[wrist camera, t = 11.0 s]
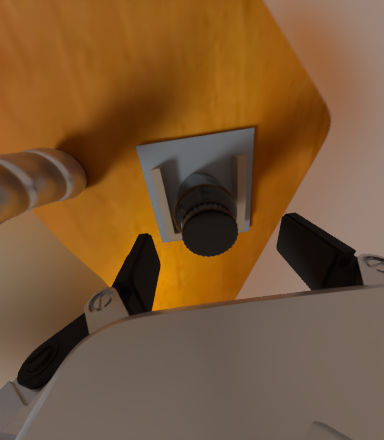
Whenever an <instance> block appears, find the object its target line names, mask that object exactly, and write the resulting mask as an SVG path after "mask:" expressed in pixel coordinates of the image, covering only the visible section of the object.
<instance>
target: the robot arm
mask: <svg viewBox="0 0 384 440" xmlns="http://www.w3.org/2000/svg"><path fill="white" fill-rule="evenodd" d="M277 250H278V252H279V253H280V254H281V255H282V256H283V258H284V259H285V260H286V261H287V262H288V263H289V265H290V266H291V267H292V268H293V269H294V271H295V272H296V273H297V274H298V275H299V276H300V277H301V279H302V280H303V281H304V282H305V283H306V285H307V286H308V287H309V288H310V289H311V290H312V291H304V292H296V293H288V294H279V295H272V296H263V297H256V298H247V299H239V300H231V301H223V302H215V303H208V304H200V305H192V306H185V307H177V308H170V309H164V310H157V311H152V307H153V301H154V296H155V291H156V286H157V281H158V276H159V271H160V260H159V257H158V254H157V251H156V248H155V245H154V242H153V239H152V236H151V235H149V234H148V233H145V234H139V235H138V237H137V239H136V241H135V243H134V245H133V247H132V249H131V251H130V253H129V255H128V256H127V257H126V259H125V261H124V263H123V265H122V267H121V269H120V271H119V273H118V275H117V277H116V279H115V281H114V283H113V285H112V287H107V288H103V289H101V290H100V291H98V292H96V293H95V294H94V295H93V296H92V297H91V298H90V299H89V300H88V302H87V303H86V306H85V313H84V314H82V315H81V316H80V317H78V318H77V319H75V320H74V321H73V322H71V323H70V324H69V325H67V326H66V327H64V328H63V329H62V330H60V331H59V332H58V333H56V334H55V335H54V336H52V337H51V338H50V339H48V340H47V341H46V342H44V343H43V344H42V345H40V346H39V347H38V348H37V349H35V350H34V351H33V352H32V353H31V355H30V356H29V357H28V358H27V359H26V360H25V362H24V363H23V364H22V367H21V368H20V370H19V372H18V377H17V378H16V379H15V381H13V382H10V381H9V382H7V383H6V385H4V386H3V387H2V388H1V389H0V440H384V257H382V256H378V255H373V254H361V255H359V256H358V257H355V256H354V253H355V252H356V251H355V250H354V249H353V248H351V247H349V246H348V245H346V244H345V243H343V242H341V241H340V240H338V239H337V238H335V237H333V236H332V235H330V234H329V233H327V232H326V231H324V230H322V229H321V228H319V227H317V226H316V225H314V224H313V223H311V222H310V221H308V220H306V219H305V218H303V217H302V216H300V215H298V214H297V213H289V214H285V215H284V216H283V217H282V220H281V225H280V231H279V236H278V241H277Z"/></svg>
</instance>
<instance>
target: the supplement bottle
mask: <svg viewBox="0 0 384 440" xmlns="http://www.w3.org/2000/svg"><path fill="white" fill-rule="evenodd" d="M236 219H237V205H236V202H235V200H234V198H233V197H232V195H231V194H230V193H229V192H228V190H227V189H226V188H225V187H224V186H223V185H222V184H221V183H220V182H219V181H218V180H217V179H216V178H215V177H214V176H212V175H210V174H208V173H204V172H198V173H194V174H191V175H189V176H188V177H186V178H185V179H184V180H183V182H182V183H181V185H180V187H179V190H178V194H177V198H176V202H175V207H174V222H175V225H176V227H177V229H178V230H179V232H180V233H181V234H182V240H183V241H184V244H185V245H186V247H187V248H188V249H189V250H190V251H192V252H193V253H194V254H197V255H201V256H207V257H210V256H215V255H220V254H222V253H224V252H225V251H228V249H229V248H231V247H232V245H233V244H234V243H235V241H236V240H237V236H238V227H237V226H238V224H237V222H236Z"/></svg>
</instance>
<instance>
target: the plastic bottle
mask: <svg viewBox="0 0 384 440" xmlns="http://www.w3.org/2000/svg"><path fill="white" fill-rule="evenodd" d="M86 183H87V179H86V174H85V171H84V169H83V167H82V166H81V165H80V164H79V163H78V161H77V160H76V159H74V158H73V157H72V156H71V155H69V154H67V153H65V152H63V151H60V150H56V149H50V148H35V149H30V150H25V151H22V152H18V153H10V154H2V155H0V224H2V223H4V222H6V221H7V220H9V219H12V218H14V217H16V216H18V215H20V214H22V213H24V212H26V211H29V210H31V209H33V208H37V207H40V206H43V205H46V204H50V203H53V202H58V201H63V200H68V199H71V198H74V197H76V196H77V195H79V194H80V193H81V192H82V191H83V190H84V189H85V187H86Z"/></svg>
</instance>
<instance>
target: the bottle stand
mask: <svg viewBox="0 0 384 440" xmlns="http://www.w3.org/2000/svg"><path fill="white" fill-rule="evenodd" d="M254 129H255V128H249V129H242V130H236V131H230V132H223V133H217V134H211V135H204V136H198V137H191V138H185V139H179V140H172V141H166V142H159V143H153V144H147V145H140V146H136V150H137V153H138V157H139V160H140V164H141V167H142V171H143V174H144V178H145V182H146V185H147V189H148V192H149V196H150V199H151V203H152V206H153V210H154V213H155V217H156V221H157V224H158V228H159V231H160V235H161V238H162V242H171V241H178V240H182V234H181V233H180V232H179V230H178V229H177V227H176V225H175V222H174V207H175V202H176V198H177V194H178V190H179V187H180V185H181V183H182V182H183V180H184V179H185V178H186V177H188V176H189V175H191V174H194V173H198V172H204V173H208V174H210V175H212V176H214V177H215V178H216V179H217V180H218V181H219V182H220V183H221V184H222V185H223V186H224V187H225V188H226V189H227V190H228V192H229V193H230V194H231V195H232V197H233V198H234V200H235V202H236V205H237V219H236V222H237V224H238V226H237V227H238V232H244V231H249V224H250V205H251V186H252V167H253V148H254Z"/></svg>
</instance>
